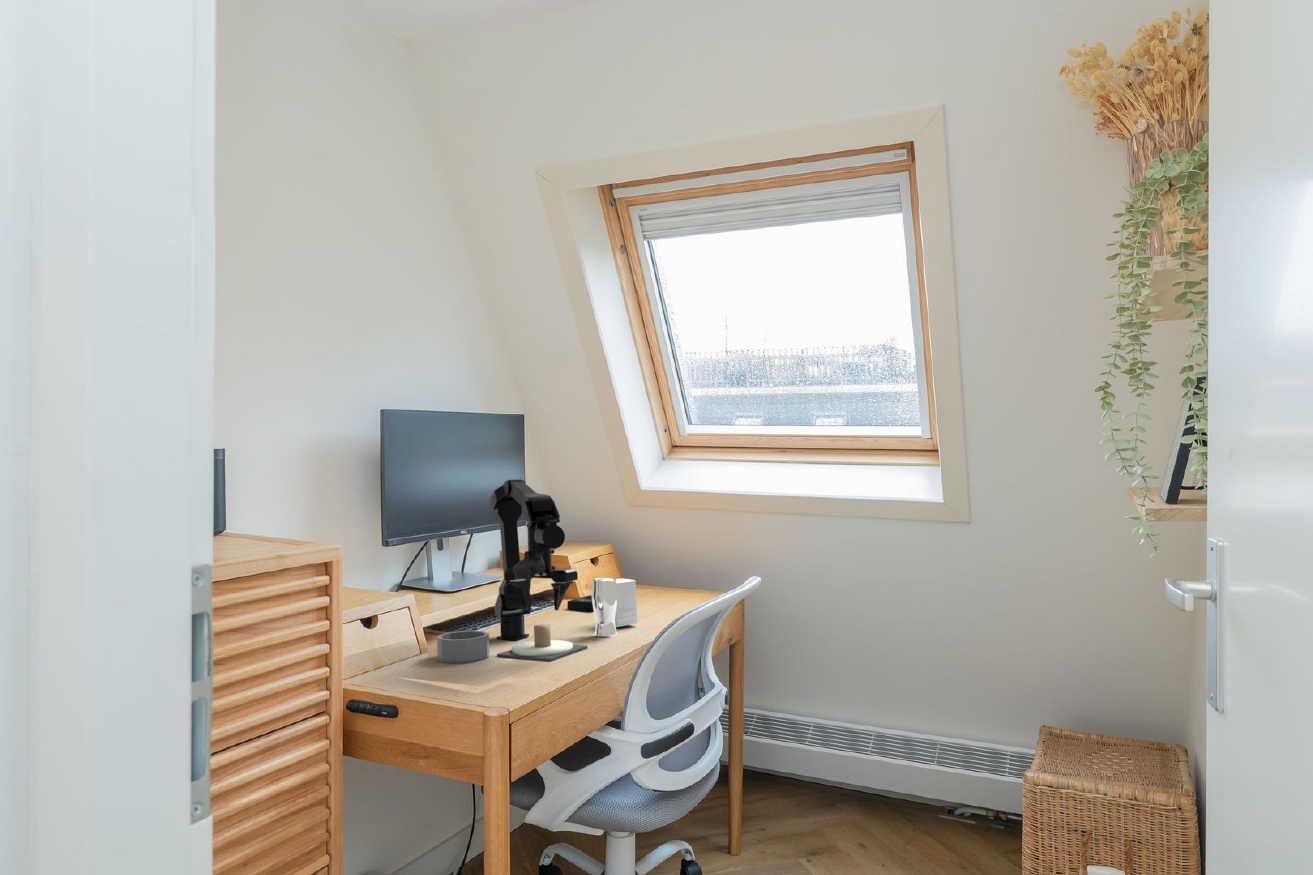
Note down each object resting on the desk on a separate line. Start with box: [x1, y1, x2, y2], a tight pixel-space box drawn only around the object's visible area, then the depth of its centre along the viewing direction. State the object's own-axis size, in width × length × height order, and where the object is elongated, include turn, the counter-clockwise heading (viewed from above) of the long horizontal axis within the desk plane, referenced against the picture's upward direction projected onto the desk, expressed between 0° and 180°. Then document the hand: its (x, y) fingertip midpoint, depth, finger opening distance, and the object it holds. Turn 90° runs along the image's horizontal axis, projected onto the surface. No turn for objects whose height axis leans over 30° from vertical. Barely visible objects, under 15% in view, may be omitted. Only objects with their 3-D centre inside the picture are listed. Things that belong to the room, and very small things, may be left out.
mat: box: [496, 644, 588, 662], centre depth 225 cm, size 16×16×1 cm
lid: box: [511, 623, 574, 656], centre depth 225 cm, size 15×15×6 cm
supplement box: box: [615, 578, 638, 628], centre depth 262 cm, size 7×7×13 cm
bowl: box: [436, 630, 490, 664], centre depth 221 cm, size 12×12×6 cm
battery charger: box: [566, 594, 594, 613], centre depth 290 cm, size 13×10×4 cm
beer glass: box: [591, 577, 618, 638], centre depth 246 cm, size 7×7×15 cm
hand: (541, 609), depth 225 cm, fingers open, 9 cm apart
